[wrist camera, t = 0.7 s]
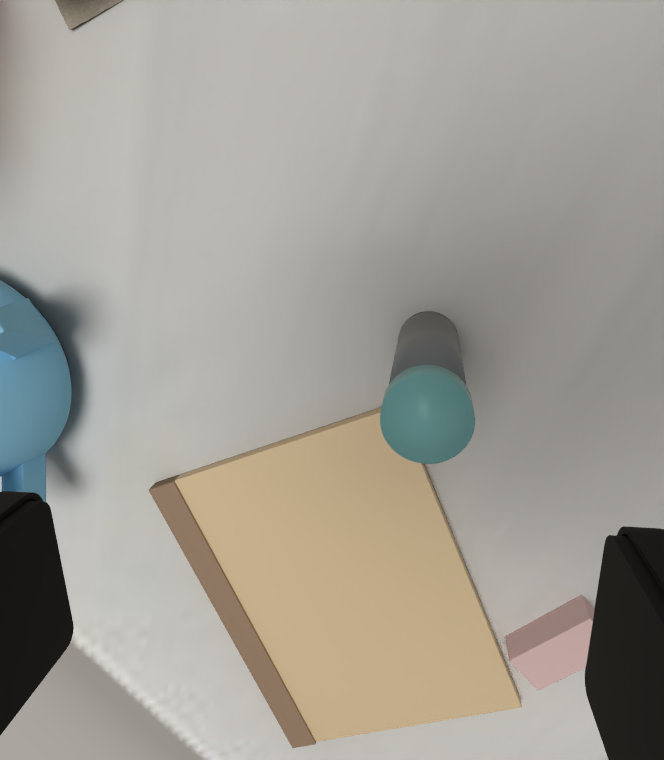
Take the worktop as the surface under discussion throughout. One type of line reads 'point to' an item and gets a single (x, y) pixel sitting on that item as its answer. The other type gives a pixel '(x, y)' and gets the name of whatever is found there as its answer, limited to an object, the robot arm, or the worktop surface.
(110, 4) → the condiment
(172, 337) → the worktop surface
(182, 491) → the notepad
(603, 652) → the robot arm
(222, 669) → the worktop surface
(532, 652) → the eraser
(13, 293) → the teapot
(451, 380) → the marker
